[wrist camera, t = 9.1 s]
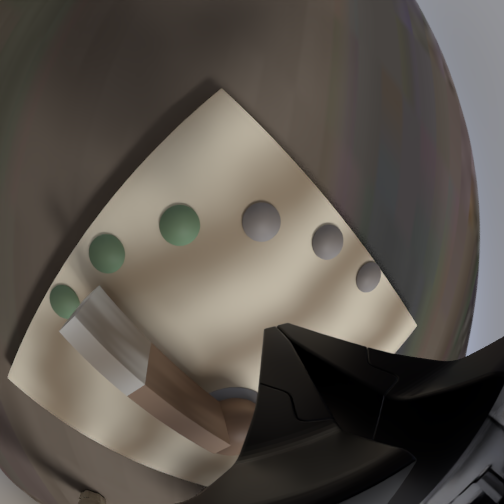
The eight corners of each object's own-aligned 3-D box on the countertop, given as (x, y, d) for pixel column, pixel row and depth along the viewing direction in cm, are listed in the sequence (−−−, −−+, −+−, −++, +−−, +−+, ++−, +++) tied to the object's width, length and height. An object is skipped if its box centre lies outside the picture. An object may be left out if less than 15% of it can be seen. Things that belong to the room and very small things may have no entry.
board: (408, 320, 20) (418, 326, 19) (221, 481, 20) (223, 491, 19) (218, 95, 13) (221, 87, 12) (13, 369, 13) (6, 378, 12)
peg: (270, 416, 17) (289, 456, 13) (226, 441, 16) (237, 482, 13) (119, 266, 12) (96, 295, 9) (71, 310, 12) (43, 346, 8)
